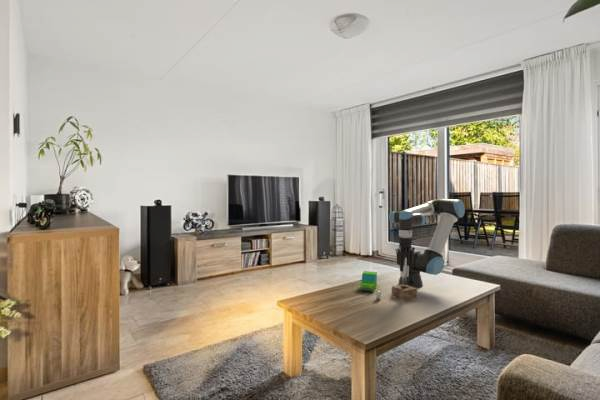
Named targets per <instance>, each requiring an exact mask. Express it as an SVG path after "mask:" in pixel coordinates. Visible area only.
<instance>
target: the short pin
mask: <svg viewBox="0 0 600 400" xmlns="http://www.w3.org/2000/svg"><path fill="white" fill-rule="evenodd" d="M375 293H376V295H375V297H376V299H375V300H376V301H378V302H380V301H381V297H382V296H381V295H382V294H381V293H382V292H381V291H380V290H376V291H375Z"/></svg>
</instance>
